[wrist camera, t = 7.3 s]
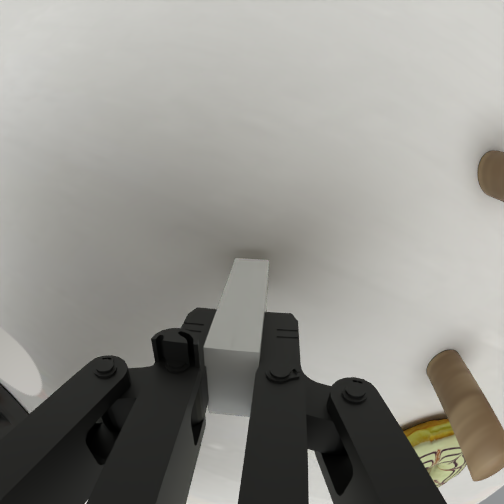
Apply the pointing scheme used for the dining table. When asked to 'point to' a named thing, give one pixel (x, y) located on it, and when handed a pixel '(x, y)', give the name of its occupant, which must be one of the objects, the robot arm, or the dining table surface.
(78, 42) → the dining table surface
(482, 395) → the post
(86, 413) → the robot arm
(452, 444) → the decorated donut
